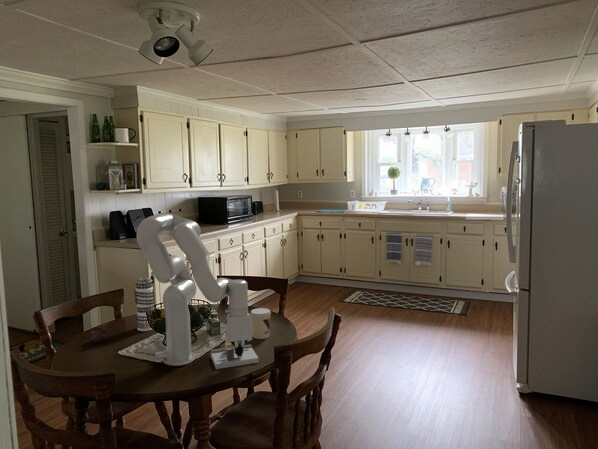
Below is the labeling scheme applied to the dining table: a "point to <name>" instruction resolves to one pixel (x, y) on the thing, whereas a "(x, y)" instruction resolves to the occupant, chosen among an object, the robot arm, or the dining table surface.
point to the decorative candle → (143, 302)
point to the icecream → (99, 334)
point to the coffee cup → (260, 323)
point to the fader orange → (228, 345)
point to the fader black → (230, 354)
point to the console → (221, 357)
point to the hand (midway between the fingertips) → (239, 355)
